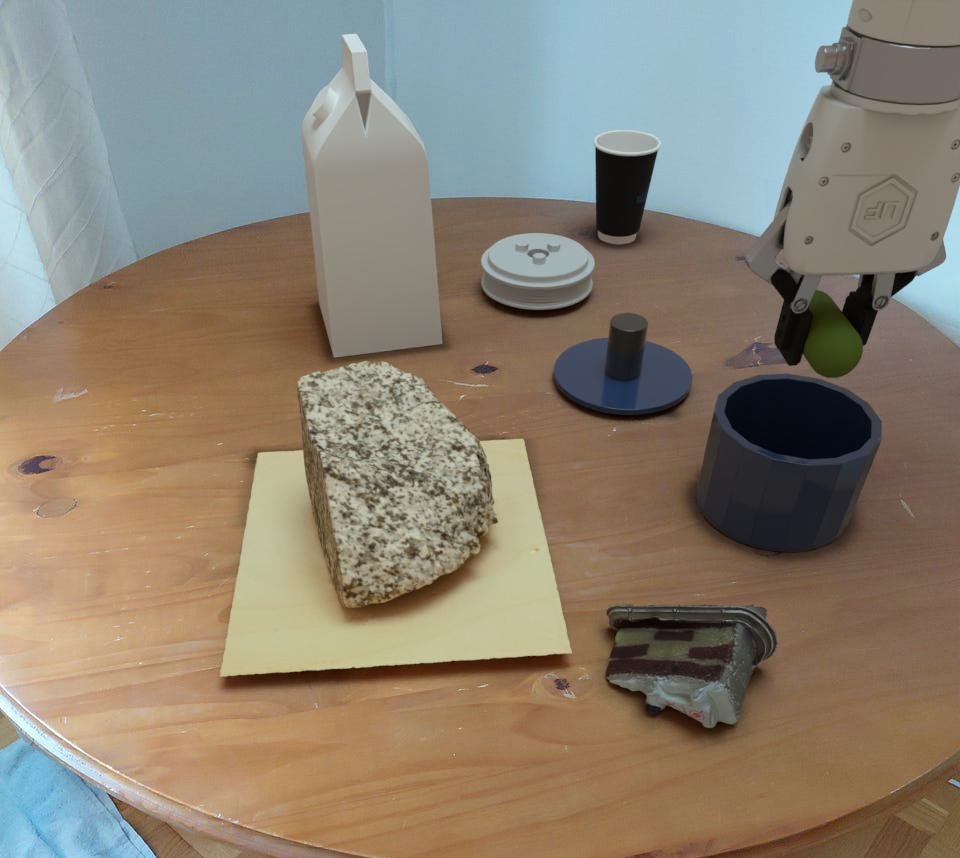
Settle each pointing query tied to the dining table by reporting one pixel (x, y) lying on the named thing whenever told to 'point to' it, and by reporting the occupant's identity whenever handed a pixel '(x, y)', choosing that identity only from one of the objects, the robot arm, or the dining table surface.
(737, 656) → the chocolate cake
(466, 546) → the rock
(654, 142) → the dixie cup
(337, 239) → the milk
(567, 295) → the lid
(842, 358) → the green rounded cylinder
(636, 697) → the dining table surface
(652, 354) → the pot lid
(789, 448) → the pot
